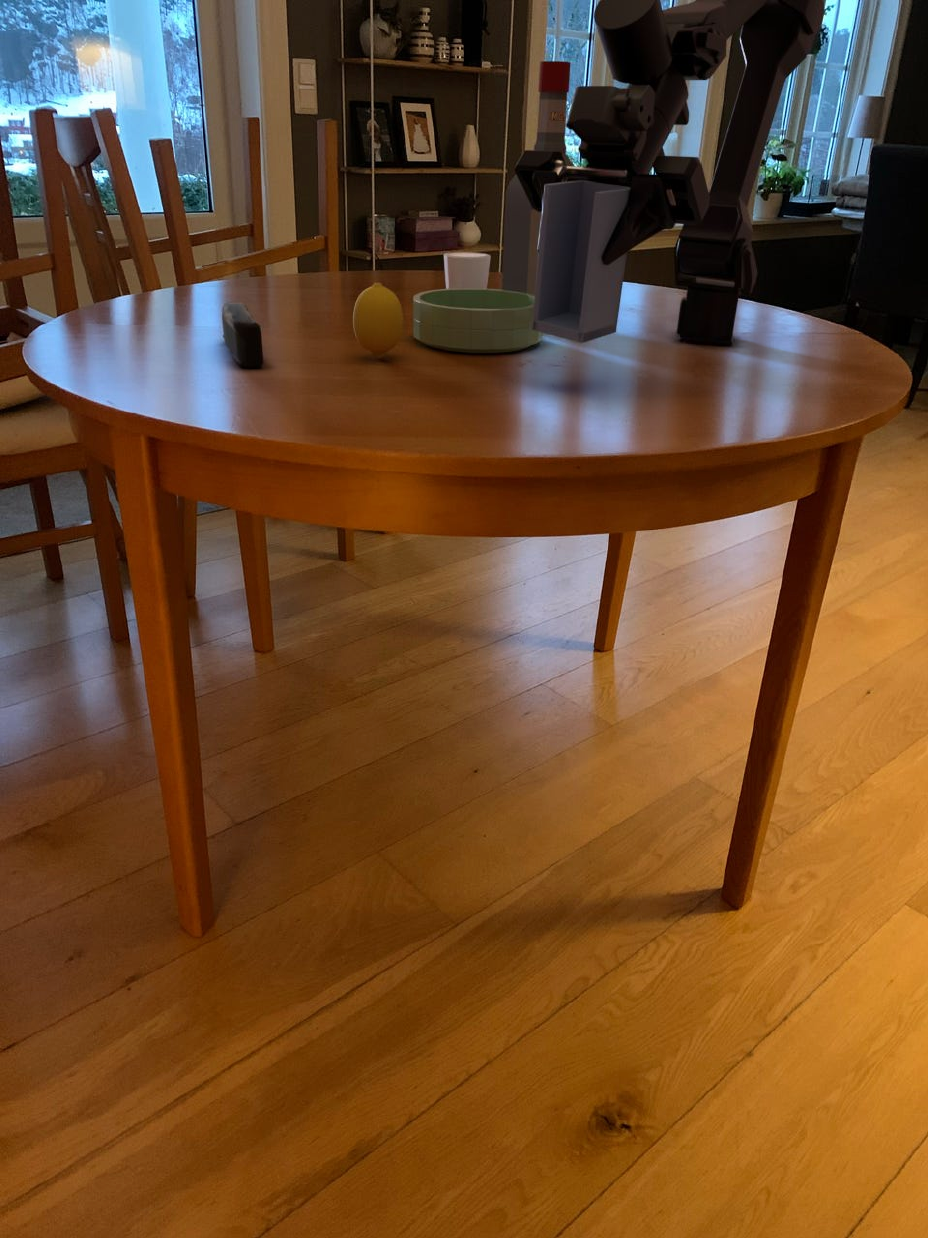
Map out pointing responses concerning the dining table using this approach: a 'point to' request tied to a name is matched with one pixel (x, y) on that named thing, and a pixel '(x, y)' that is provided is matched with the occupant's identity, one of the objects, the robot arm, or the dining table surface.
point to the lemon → (378, 319)
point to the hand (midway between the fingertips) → (571, 257)
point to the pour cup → (578, 261)
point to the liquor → (518, 210)
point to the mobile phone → (242, 335)
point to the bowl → (475, 320)
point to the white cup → (466, 270)
